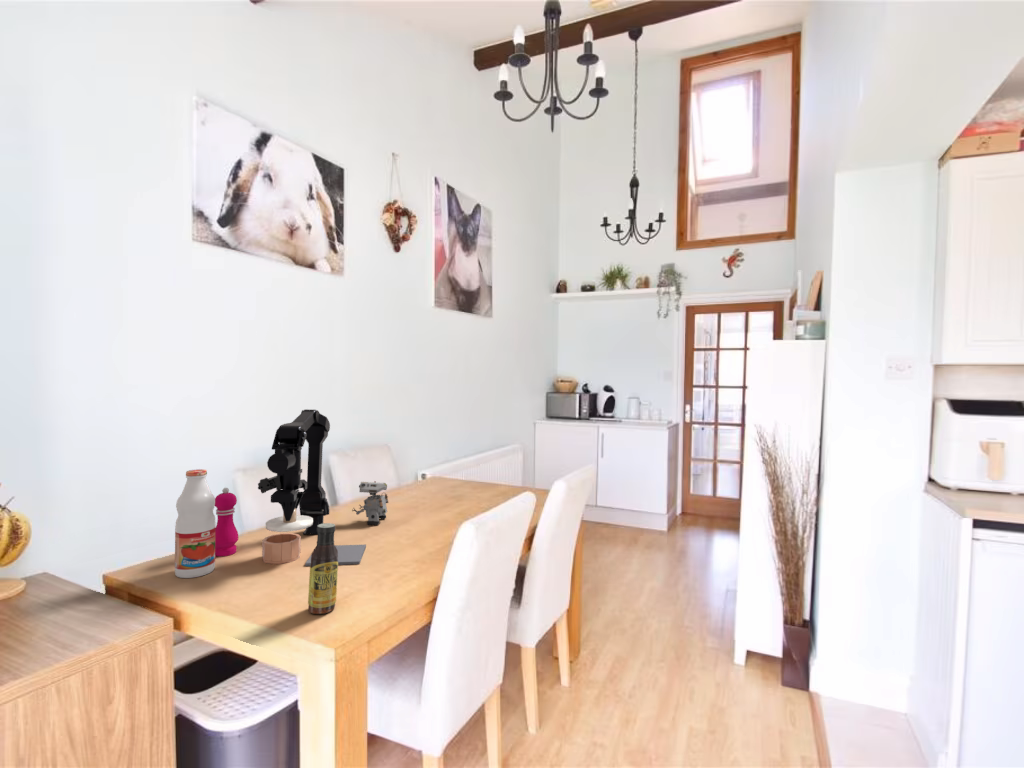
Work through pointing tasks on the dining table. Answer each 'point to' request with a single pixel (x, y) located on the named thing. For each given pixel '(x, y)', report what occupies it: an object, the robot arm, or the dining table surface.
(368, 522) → the figurine
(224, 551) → the pepper mill
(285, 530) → the lid
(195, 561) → the fruit juice
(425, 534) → the dining table surface
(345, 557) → the mat
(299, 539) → the bowl
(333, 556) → the sauce bottle
